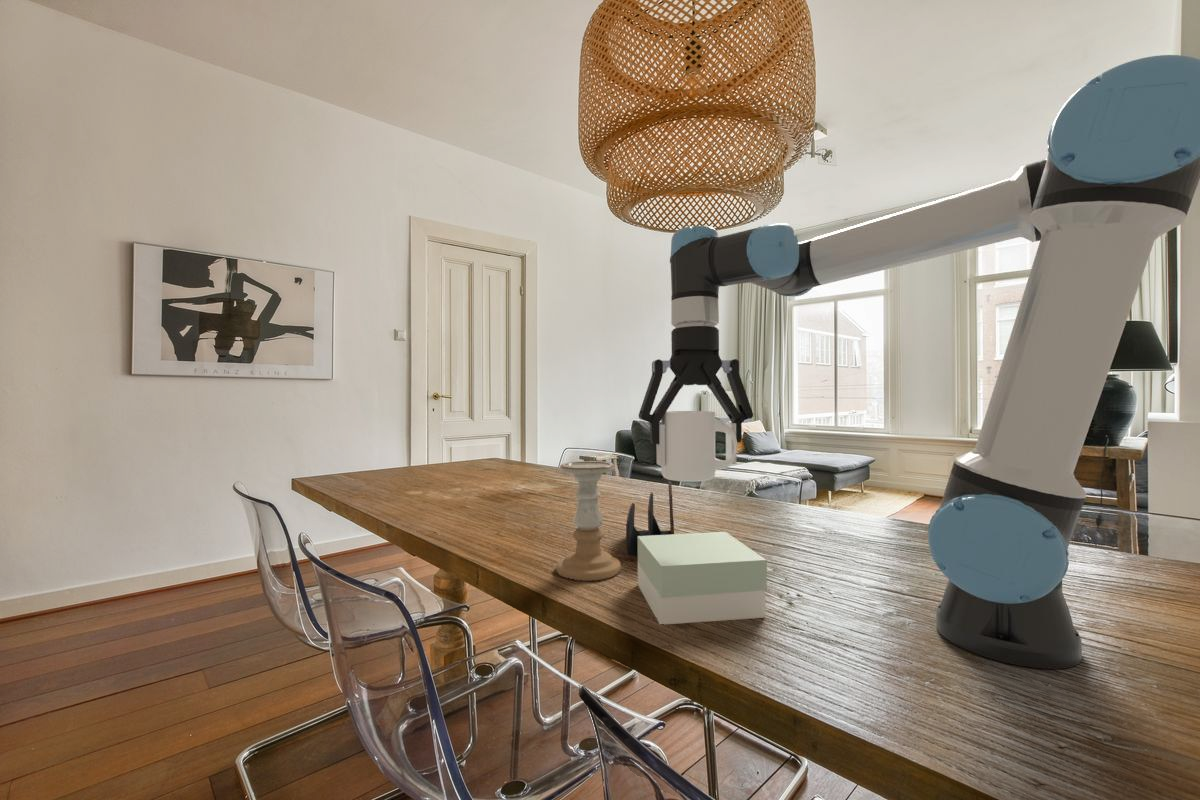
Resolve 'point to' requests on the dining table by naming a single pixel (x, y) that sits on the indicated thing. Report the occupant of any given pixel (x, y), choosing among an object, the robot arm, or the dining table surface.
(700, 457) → the mug
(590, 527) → the candle holder
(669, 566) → the tower top
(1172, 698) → the dining table surface
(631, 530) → the letter holder
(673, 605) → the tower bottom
